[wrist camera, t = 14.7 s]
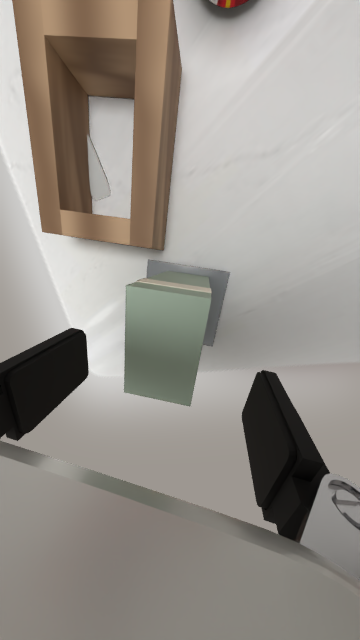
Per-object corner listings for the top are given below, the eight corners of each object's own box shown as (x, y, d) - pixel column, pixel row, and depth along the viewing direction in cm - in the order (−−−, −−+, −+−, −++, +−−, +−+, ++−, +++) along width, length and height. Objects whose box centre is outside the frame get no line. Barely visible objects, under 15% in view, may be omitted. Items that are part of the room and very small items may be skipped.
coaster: (229, 271, 21) (230, 272, 20) (212, 344, 24) (212, 346, 24) (149, 259, 22) (147, 259, 21) (144, 331, 25) (142, 333, 25)
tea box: (209, 276, 21) (212, 298, 10) (198, 336, 24) (190, 407, 12) (167, 270, 21) (125, 284, 10) (161, 330, 24) (123, 392, 13)
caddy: (181, 69, 16) (171, -11, 11) (163, 250, 21) (151, 248, 16) (65, 61, 17) (10, -15, 12) (76, 237, 22) (42, 231, 17)
